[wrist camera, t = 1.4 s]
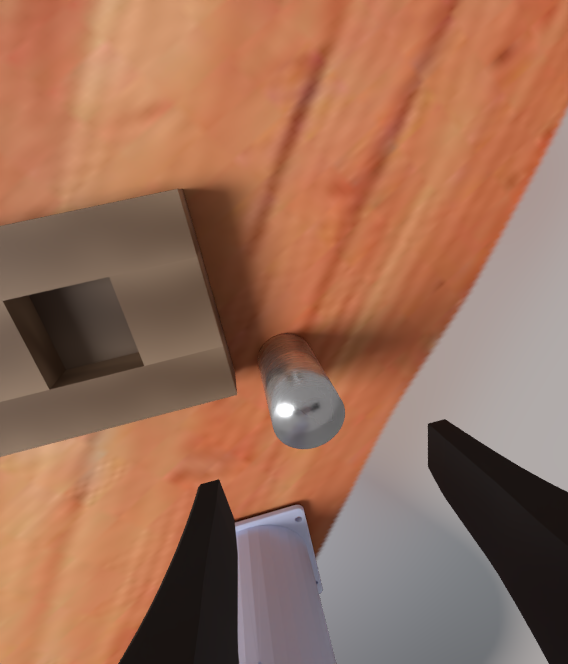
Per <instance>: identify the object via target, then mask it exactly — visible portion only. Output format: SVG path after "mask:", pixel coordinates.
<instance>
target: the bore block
mask: <svg viewBox="0 0 568 664" xmlns="http://www.w3.org/2000/svg"><path fill="white" fill-rule="evenodd" d="M234 395H237V389H236V379H235V371H234V367H233V364H232V360H231V357H230V353H229V350H228V346H227V343H226V339H225V336H224V332H223V329H222V325H221V322H220V318H219V315H218V311H217V308H216V304H215V301H214V297H213V294H212V290H211V287H210V283H209V280H208V276H207V273H206V269H205V266H204V262H203V258H202V255H201V251H200V248H199V244H198V241H197V237H196V234H195V230H194V227H193V223H192V220H191V216H190V213H189V209H188V206H187V202H186V199H185V195H184V192H183V189H175V190H170V191H165V192H160V193H156V194H151V195H146V196H141V197H137V198H132V199H127V200H122V201H117V202H113V203H108V204H103V205H98V206H94V207H89V208H84V209H79V210H75V211H70V212H65V213H60V214H56V215H51V216H46V217H41V218H37V219H32V220H27V221H22V222H18V223H13V224H8V225H3V226H0V457H2V456H6V455H9V454H13V453H17V452H21V451H25V450H28V449H32V448H36V447H40V446H44V445H47V444H51V443H55V442H59V441H63V440H67V439H70V438H74V437H78V436H82V435H86V434H89V433H93V432H97V431H101V430H105V429H108V428H112V427H116V426H120V425H124V424H128V423H131V422H135V421H139V420H143V419H147V418H150V417H154V416H158V415H162V414H166V413H169V412H173V411H177V410H181V409H185V408H189V407H192V406H196V405H200V404H204V403H208V402H211V401H215V400H219V399H223V398H227V397H230V396H234Z"/></svg>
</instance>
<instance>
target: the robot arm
mask: <svg viewBox="0 0 568 664" xmlns="http://www.w3.org/2000/svg"><path fill="white" fill-rule="evenodd" d="M428 467H429V469H430V471H431V473H432V475H433V477H434V479H435V481H436V482H437V484H438V486H439V488H440V490H441V492H442V493H443V495H444V497H445V498H446V500H447V501H448V502H449V504H450V505H451V507H452V508H453V510H454V511H455V512H456V514H457V515H458V517H459V518H460V520H461V521H462V522H463V524H464V525H465V527H466V528H467V530H468V531H469V532H470V534H471V535H472V537H473V538H474V540H475V541H476V542H477V544H478V545H479V547H480V548H481V549H482V551H483V552H484V553H485V555H486V556H487V558H488V559H489V561H490V562H491V564H492V565H493V567H494V569H495V570H496V571H497V573H498V574H499V576H500V578H501V580H502V581H503V583H504V585H505V587H506V588H507V590H508V592H509V593H510V595H511V597H512V598H513V600H514V601H515V604H516V605H517V607H518V609H519V611H520V612H521V614H522V616H523V618H524V619H525V621H526V623H527V625H528V626H529V628H530V630H531V632H532V634H533V635H534V637H535V639H536V641H537V642H538V644H539V646H540V648H541V650H542V652H543V654H544V655H545V657H546V659H547V661H548V663H549V664H568V492H567V491H564V490H562V489H560V488H558V487H556V486H554V485H553V484H551V483H549V482H547V481H545V480H543V479H541V478H539V477H538V476H536V475H534V474H532V473H530V472H529V471H527V470H525V469H523V468H521V467H520V466H518V465H516V464H515V463H513V462H511V461H510V460H508V459H506V458H505V457H503V456H501V455H500V454H498V453H496V452H495V451H493V450H492V449H490V448H489V447H487V446H485V445H484V444H482V443H481V442H479V441H478V440H476V439H474V438H473V437H471V436H470V435H468V434H467V433H465V432H464V431H462V430H461V429H459V428H458V427H456V426H454V425H453V424H451V423H450V422H448V421H447V420H445V419H444V420H440V421H437V422H433V423H429V424H428ZM299 516H300V517H299ZM322 591H323V588H322V584H321V580H320V575H319V571H318V567H317V563H316V559H315V554H314V550H313V546H312V542H311V538H310V533H309V529H308V525H307V521H306V517H305V513H304V509H303V507H302V506H301V505H293V506H290V507H286V508H283V509H280V510H276V511H273V512H269V513H266V514H262V515H259V516H256V517H252V518H249V519H245V520H242V521H239V522H235V520H234V517H233V515H232V512H231V509H230V507H229V504H228V502H227V499H226V496H225V494H224V491H223V488H222V486H221V483H220V480H215V481H211V482H207V483H204V484H201V485H200V486H199V487H198V490H197V494H196V497H195V500H194V503H193V506H192V509H191V512H190V515H189V518H188V521H187V523H186V526H185V529H184V531H183V534H182V536H181V539H180V542H179V544H178V547H177V549H176V552H175V554H174V556H173V559H172V561H171V563H170V566H169V568H168V570H167V572H166V574H165V577H164V579H163V581H162V583H161V586H160V588H159V590H158V592H157V594H156V596H155V598H154V600H153V602H152V604H151V606H150V608H149V610H148V612H147V614H146V616H145V617H144V619H143V621H142V623H141V625H140V627H139V629H138V630H137V632H136V634H135V636H134V638H133V639H132V641H131V643H130V645H129V646H128V648H127V650H126V652H125V653H124V655H123V657H122V658H121V660H120V662H119V663H118V664H337V663H336V660H335V656H334V652H333V648H332V644H331V640H330V636H329V632H328V628H327V624H326V620H325V616H324V612H323V608H322V604H321V600H320V597H319V594H320V593H321V592H322Z"/></svg>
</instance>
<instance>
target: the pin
mask: <svg viewBox="0 0 568 664" xmlns="http://www.w3.org/2000/svg"><path fill="white" fill-rule="evenodd" d="M258 366H259V370H260V374H261V379H262V383H263V387H264V391H265V395H266V400H267V404H268V408H269V412H270V416H271V420H272V425H273V429H274V432H275V434H276V436H277V437H278V438H279V439H280V440H281V441H282V442H283V443H284V444H286V445H288V446H290V447H293V448H297V449H310V448H315V447H318V446H320V445H323V444H325V443H326V442H328V441H329V440H331V439H332V438H333V437H334V436H335V435H336V434H337V433H338V431H339V430H340V428H341V426H342V424H343V422H344V418H345V408H344V405H343V402H342V400H341V399H340V397H339V395H338V393H337V392H336V390H335V388H334V387H333V385H332V383H331V382H330V380H329V378H328V377H327V375H326V373H325V372H324V370H323V368H322V367H321V365H320V363H319V361H318V360H317V358H316V356H315V355H314V353H313V351H312V350H311V348H310V346H309V345H308V343H307V342H306V341H305V340H304V339H303V338H301V337H300V336H298V335H295V334H279V335H276V336H274V337H272V338H270V339H269V340H268V341H267V342H266V343H265V344H264V345H263V346H262V348H261V349H260V352H259V355H258Z"/></svg>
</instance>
